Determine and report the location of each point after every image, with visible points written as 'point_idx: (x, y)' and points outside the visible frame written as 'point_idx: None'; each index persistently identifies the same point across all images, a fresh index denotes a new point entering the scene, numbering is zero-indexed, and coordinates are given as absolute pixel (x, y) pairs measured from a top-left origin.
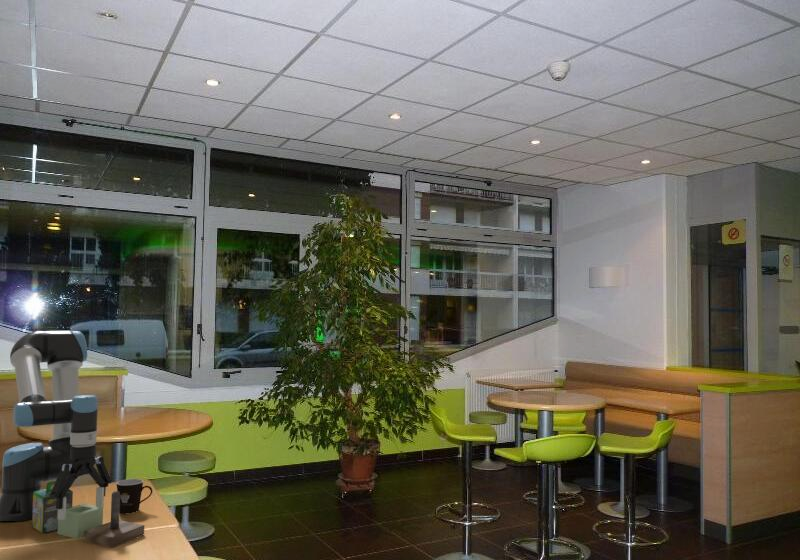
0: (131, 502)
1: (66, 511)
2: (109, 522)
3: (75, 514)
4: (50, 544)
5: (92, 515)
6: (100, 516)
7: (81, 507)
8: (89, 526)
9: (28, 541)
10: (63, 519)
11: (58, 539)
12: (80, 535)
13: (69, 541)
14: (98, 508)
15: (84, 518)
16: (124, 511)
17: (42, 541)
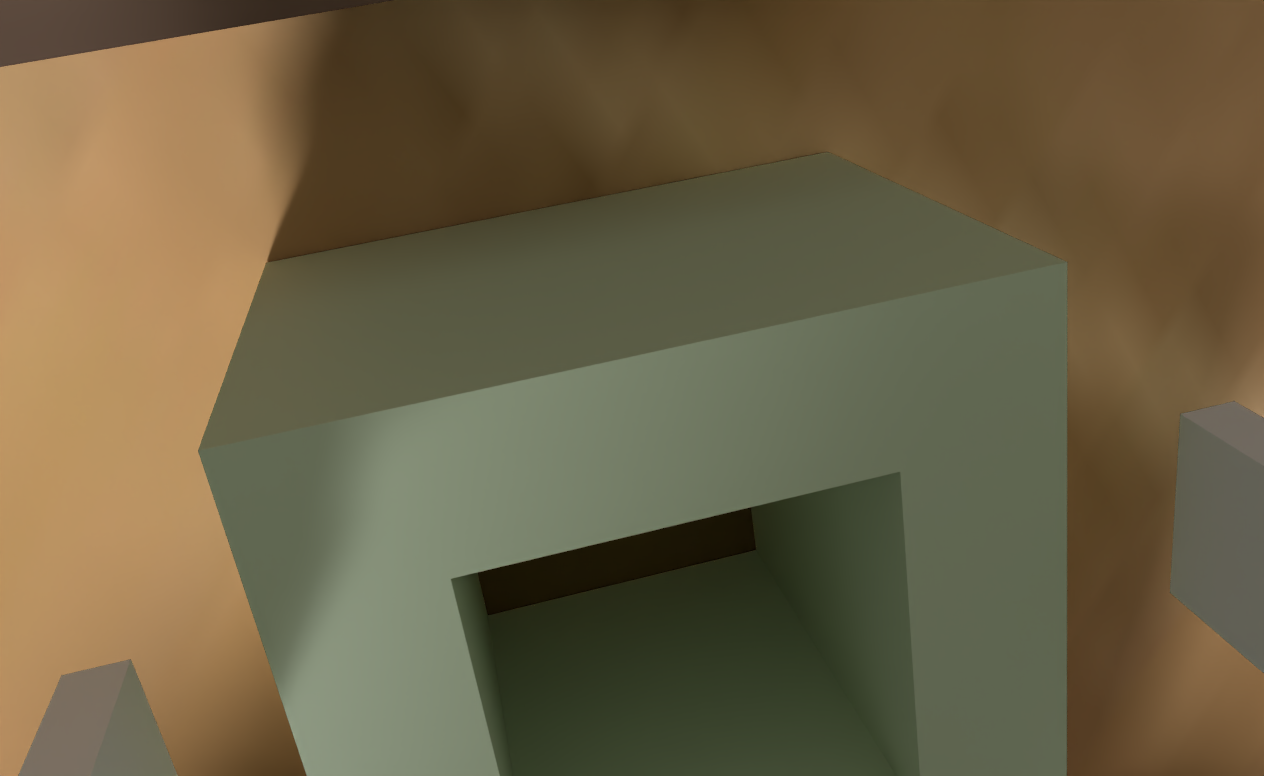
0: None
1: (994, 771)
2: (201, 9)
3: (1043, 400)
4: (1196, 239)
5: (568, 324)
6: (305, 344)
7: None
8: (604, 236)
9: None
10: (1244, 407)
11: None
12: (778, 169)
13: (974, 129)
14: (356, 453)
15: (808, 269)
16: None
17: (1160, 461)
